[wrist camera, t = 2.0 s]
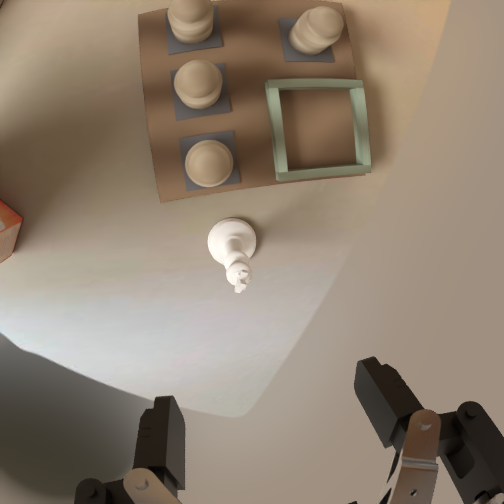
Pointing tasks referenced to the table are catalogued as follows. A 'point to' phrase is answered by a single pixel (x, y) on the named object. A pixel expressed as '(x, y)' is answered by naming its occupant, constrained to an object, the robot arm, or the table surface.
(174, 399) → the robot arm
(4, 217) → the cracker box
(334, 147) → the pawn tray
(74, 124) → the table surface
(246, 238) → the chess piece
